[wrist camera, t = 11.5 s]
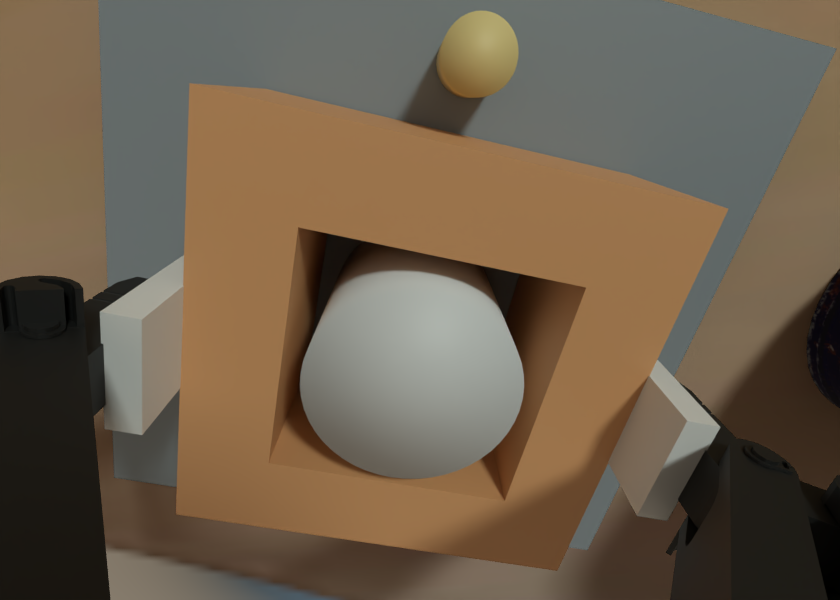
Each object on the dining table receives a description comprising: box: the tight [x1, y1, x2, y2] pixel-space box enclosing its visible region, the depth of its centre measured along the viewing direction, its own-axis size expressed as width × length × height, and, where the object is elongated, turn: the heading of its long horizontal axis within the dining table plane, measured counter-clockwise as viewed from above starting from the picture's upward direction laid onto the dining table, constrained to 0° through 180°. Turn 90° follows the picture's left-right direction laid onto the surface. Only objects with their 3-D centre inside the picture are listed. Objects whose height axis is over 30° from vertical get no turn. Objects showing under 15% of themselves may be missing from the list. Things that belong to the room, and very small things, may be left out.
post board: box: [98, 0, 836, 550], centre depth 14 cm, size 20×20×7 cm
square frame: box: [176, 83, 728, 571], centre depth 14 cm, size 11×11×5 cm
